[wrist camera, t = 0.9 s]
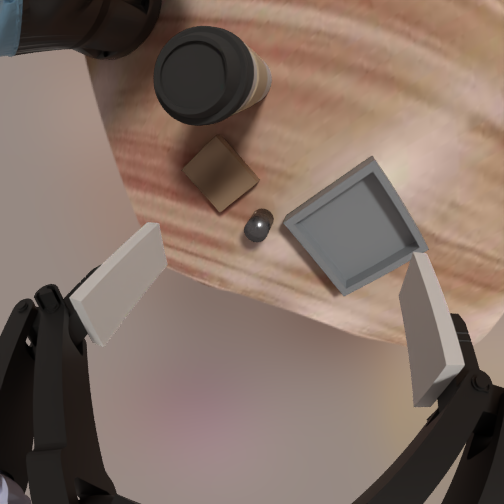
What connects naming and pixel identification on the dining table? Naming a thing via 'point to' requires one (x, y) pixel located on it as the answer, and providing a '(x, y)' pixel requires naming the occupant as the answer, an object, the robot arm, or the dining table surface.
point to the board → (220, 173)
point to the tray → (357, 228)
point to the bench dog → (259, 225)
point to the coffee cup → (208, 76)
